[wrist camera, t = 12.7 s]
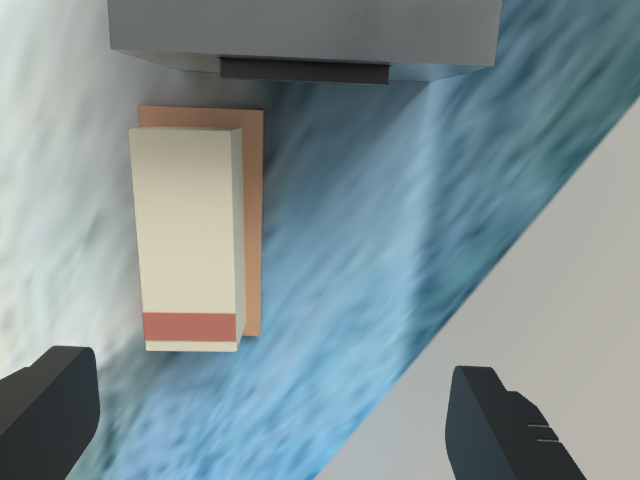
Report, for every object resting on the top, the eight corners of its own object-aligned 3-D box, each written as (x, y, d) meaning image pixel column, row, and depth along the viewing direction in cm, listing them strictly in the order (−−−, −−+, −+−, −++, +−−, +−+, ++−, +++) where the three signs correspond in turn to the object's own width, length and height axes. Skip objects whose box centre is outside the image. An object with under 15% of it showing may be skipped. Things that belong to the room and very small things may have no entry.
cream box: (154, 126, 28) (127, 128, 24) (242, 127, 28) (230, 131, 24) (167, 320, 31) (145, 351, 27) (246, 321, 31) (236, 352, 27)
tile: (142, 105, 28) (138, 105, 27) (263, 110, 28) (262, 110, 28) (154, 327, 32) (150, 332, 31) (261, 330, 32) (259, 336, 31)
